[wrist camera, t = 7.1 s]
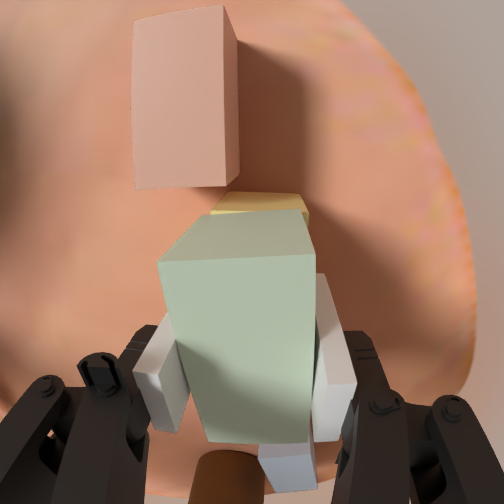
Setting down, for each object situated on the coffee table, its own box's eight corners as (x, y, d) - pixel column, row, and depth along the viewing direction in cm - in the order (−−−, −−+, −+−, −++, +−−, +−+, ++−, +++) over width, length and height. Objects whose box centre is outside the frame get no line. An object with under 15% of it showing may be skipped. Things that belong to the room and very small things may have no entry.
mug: (234, 490, 30) (226, 546, 21) (180, 474, 29) (165, 532, 21) (278, 459, 26) (275, 533, 17) (212, 440, 25) (195, 519, 16)
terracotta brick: (240, 173, 16) (226, 186, 12) (172, 176, 17) (135, 190, 12) (237, 40, 13) (223, 4, 9) (169, 48, 14) (134, 20, 9)
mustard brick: (290, 315, 19) (293, 366, 15) (229, 313, 19) (217, 362, 15) (299, 193, 16) (309, 213, 12) (228, 191, 17) (210, 210, 12)
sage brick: (302, 363, 14) (308, 442, 10) (226, 365, 15) (208, 441, 10) (300, 208, 12) (315, 254, 7) (201, 215, 12) (156, 262, 7)
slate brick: (315, 449, 25) (317, 488, 20) (277, 454, 26) (275, 493, 21) (307, 406, 22) (310, 453, 18) (261, 412, 23) (257, 458, 18)
